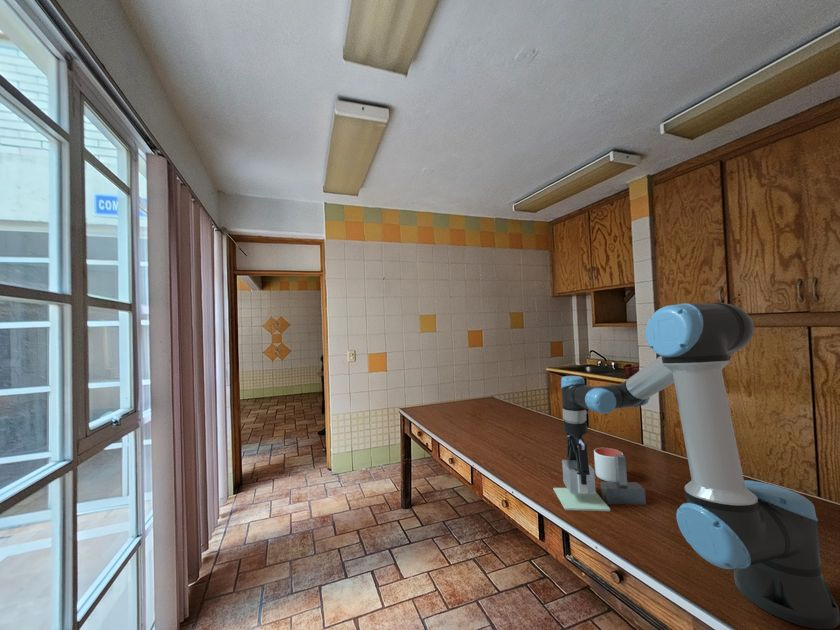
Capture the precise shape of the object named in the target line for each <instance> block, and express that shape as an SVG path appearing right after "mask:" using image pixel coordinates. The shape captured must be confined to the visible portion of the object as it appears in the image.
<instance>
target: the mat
mask: <svg viewBox="0 0 840 630" xmlns="http://www.w3.org/2000/svg"><path fill="white" fill-rule="evenodd" d="M553 492H554V494H556V496H557V498H558V500H559V502H560V503H561V505H562V507H563V509H564V511H585V512H586V511H587V512H588V511H590V512H591V511H592V512H611V508H610V507H609V506H608V504H607V503H606V501H605V500H604V499H603V498H602V496H600V495H599V493H597V491H596V494H571V493H570V492H569V490H568V489H567V487H553Z"/></svg>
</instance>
